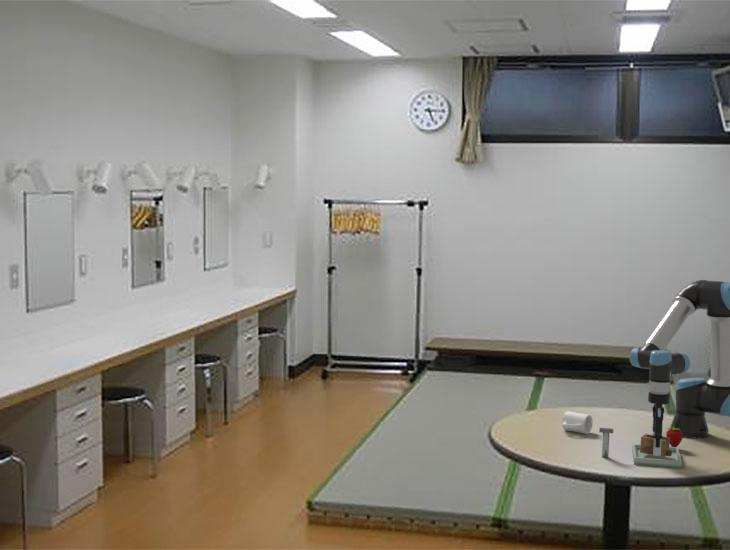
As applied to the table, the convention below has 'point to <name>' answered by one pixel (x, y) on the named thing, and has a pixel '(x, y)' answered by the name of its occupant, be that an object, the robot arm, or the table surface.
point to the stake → (605, 441)
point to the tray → (657, 458)
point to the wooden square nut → (648, 444)
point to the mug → (577, 422)
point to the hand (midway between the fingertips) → (656, 452)
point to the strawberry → (674, 436)
